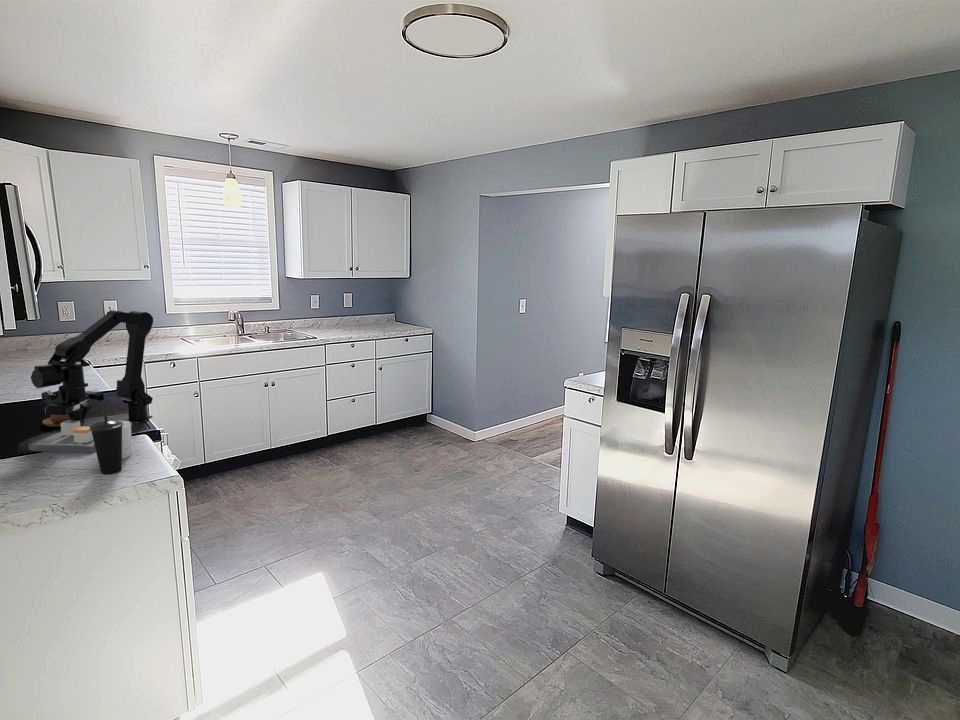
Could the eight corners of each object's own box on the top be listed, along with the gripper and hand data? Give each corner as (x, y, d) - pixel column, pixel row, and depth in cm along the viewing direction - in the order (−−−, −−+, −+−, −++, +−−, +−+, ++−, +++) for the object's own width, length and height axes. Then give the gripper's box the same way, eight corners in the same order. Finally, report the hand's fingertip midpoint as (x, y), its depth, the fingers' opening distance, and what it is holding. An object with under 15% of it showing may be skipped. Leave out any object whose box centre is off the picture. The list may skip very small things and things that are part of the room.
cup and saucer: (70, 417, 196) (68, 400, 195) (94, 421, 192) (92, 405, 191) (34, 426, 185) (32, 409, 184) (58, 431, 181) (56, 414, 180)
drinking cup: (91, 478, 147) (83, 408, 143) (98, 467, 154) (90, 400, 150) (124, 474, 150) (117, 405, 146) (129, 464, 157) (123, 398, 153)
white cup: (139, 451, 166) (136, 420, 164) (123, 461, 159) (120, 429, 157) (113, 451, 166) (110, 420, 164) (96, 460, 158) (92, 428, 156)
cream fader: (68, 432, 174) (67, 419, 173) (81, 432, 174) (80, 420, 174) (61, 435, 171) (60, 422, 170) (74, 435, 171) (73, 422, 171)
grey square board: (74, 431, 181) (74, 425, 181) (129, 433, 182) (128, 427, 181) (32, 451, 164) (31, 444, 163) (92, 452, 164) (91, 446, 164)
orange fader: (81, 439, 169) (79, 426, 168) (94, 439, 169) (93, 427, 168) (74, 442, 166) (72, 429, 165) (87, 442, 166) (86, 430, 165)
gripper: (69, 374, 182) (74, 418, 185) (24, 387, 164) (30, 436, 167) (102, 375, 182) (107, 419, 185) (61, 389, 164) (67, 437, 167)
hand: (78, 427), depth 176 cm, fingers closed
